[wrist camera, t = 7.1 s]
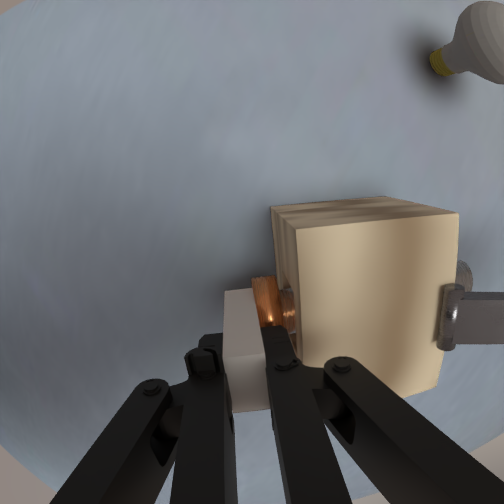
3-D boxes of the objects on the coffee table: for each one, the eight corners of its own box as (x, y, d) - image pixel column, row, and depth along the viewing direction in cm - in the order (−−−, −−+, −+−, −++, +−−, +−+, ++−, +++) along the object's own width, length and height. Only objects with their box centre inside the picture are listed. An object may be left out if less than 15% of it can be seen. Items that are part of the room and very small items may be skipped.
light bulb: (431, 108, 19) (532, 89, 9) (394, 45, 17) (479, -8, 8) (471, 86, 18) (561, 68, 9) (437, 28, 17) (518, -13, 7)
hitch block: (282, 346, 22) (304, 421, 15) (270, 206, 20) (295, 229, 12) (383, 327, 23) (435, 386, 15) (385, 196, 20) (458, 213, 12)
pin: (256, 330, 19) (263, 367, 15) (249, 268, 18) (254, 294, 14) (442, 296, 20) (475, 319, 16) (446, 242, 19) (483, 257, 15)
